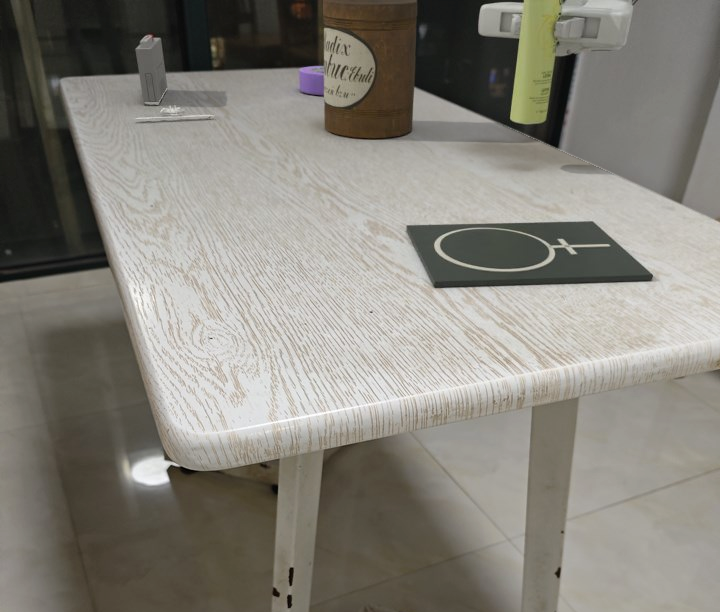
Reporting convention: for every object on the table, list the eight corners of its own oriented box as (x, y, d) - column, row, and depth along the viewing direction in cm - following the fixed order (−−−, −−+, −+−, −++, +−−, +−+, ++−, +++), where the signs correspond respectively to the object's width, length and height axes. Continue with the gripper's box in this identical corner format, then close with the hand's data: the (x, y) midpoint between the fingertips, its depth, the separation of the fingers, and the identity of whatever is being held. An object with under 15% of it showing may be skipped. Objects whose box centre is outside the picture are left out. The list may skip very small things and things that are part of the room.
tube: (547, 126, 95) (574, -55, 83) (509, 125, 96) (530, -55, 84) (545, 117, 100) (570, -56, 88) (508, 116, 100) (529, -56, 88)
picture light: (133, 123, 119) (131, 109, 118) (131, 117, 122) (129, 104, 121) (216, 119, 123) (214, 105, 121) (212, 113, 126) (211, 100, 125)
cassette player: (154, 89, 143) (145, 31, 137) (167, 89, 143) (159, 31, 137) (144, 105, 131) (134, 42, 124) (158, 105, 131) (149, 42, 125)
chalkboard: (591, 226, 82) (593, 219, 82) (651, 280, 70) (654, 272, 69) (406, 230, 80) (406, 223, 79) (434, 287, 67) (434, 279, 67)
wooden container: (308, 124, 120) (304, -35, 107) (379, 116, 127) (384, -35, 113) (355, 143, 111) (357, -29, 97) (429, 133, 117) (441, -30, 104)
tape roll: (326, 83, 151) (326, 63, 149) (368, 91, 146) (368, 70, 143) (287, 90, 144) (287, 69, 142) (329, 99, 139) (329, 76, 136)
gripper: (498, -12, 102) (464, -5, 92) (644, -5, 94) (624, 3, 85) (493, 39, 106) (460, 51, 96) (632, 50, 98) (612, 63, 89)
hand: (538, 28), depth 90 cm, fingers closed on tube, 4 cm apart
